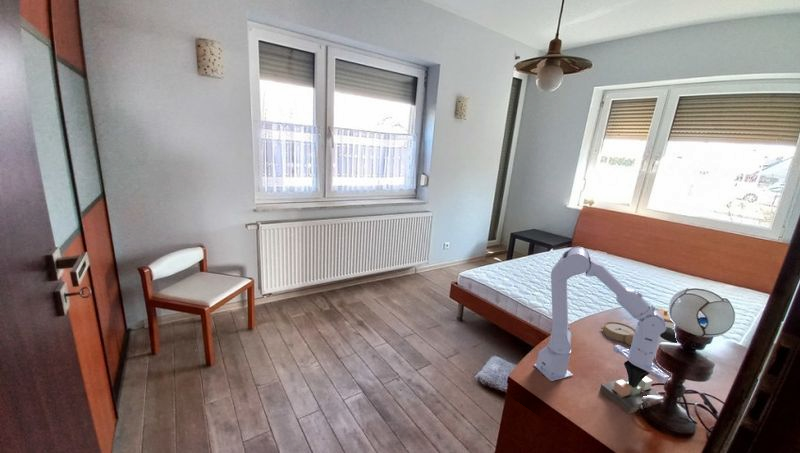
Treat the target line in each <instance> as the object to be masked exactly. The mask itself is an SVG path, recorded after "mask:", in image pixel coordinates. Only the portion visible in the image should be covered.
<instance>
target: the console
mask: <svg viewBox="0 0 800 453" xmlns="http://www.w3.org/2000/svg"><path fill="white" fill-rule="evenodd" d="M618 380H624V381H625V382H628V376H627V377H622V378H619V379H615V380H612V381H608V382H604V383H601V385H600V389H599V392H601V393H602V394H603V395H604V396H605V397H607V398H608V399H609V400H610V401H611V402H613V403H614V404H615V405H616V406H617V407H619V408H620V409H621V410H623V412H625V413H626V414H627V415H629V414H633V413H635V412H638V411H637V410H638V409H639V407H640V406H641V405H642V403H643V401H642V397H643V396H647V395H661V394H660V393H659V392H657V391H656V390H654V389H653V388H652V387H651V388H650V389H647V390H644V391H643V392H642V389H641V390H640V394H637V395H634V396H633V395H632V394H630V395H627V396H624V397H622V396H621V395H619V394H618V393H617V392H616V391H614V390H613V388H614V384H615V381H618Z"/></svg>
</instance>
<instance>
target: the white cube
mask: <svg viewBox="0 0 800 453" xmlns="http://www.w3.org/2000/svg"><path fill="white" fill-rule="evenodd" d="M652 384H653V380H652V378H650V377H648V375H647V376H645V377H644V378H643V379H642V380H641V381H640V383H639V384H638V386H640V387H641V389H642V390H643V391H644V390H647V389H650V388H651V389H652Z"/></svg>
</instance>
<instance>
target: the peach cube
mask: <svg viewBox="0 0 800 453" xmlns="http://www.w3.org/2000/svg"><path fill="white" fill-rule="evenodd" d="M617 380H618V379H617ZM614 381H615V380H614ZM631 388H632V386H631V385H629V384H628V383H626V382H625V381H624V380H618V381H615V384H614V388H613V390H614V391H616V392H617V393H618V394H619V395H621V396H622V397H624V396H627V395H630V392H631Z"/></svg>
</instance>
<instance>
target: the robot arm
mask: <svg viewBox="0 0 800 453" xmlns="http://www.w3.org/2000/svg"><path fill="white" fill-rule="evenodd" d="M584 273H585V276H586V277H587V276H588V277H596V278H597V280H599V281H600V282H601V283H602V284H604V285H605V286H606V287H607V288H608V289H609V290H611V292H612V293H613V294H615V295H616V298H615V301H616V302H617V303H618V304H619V305H620V306H621V307H622V308H623V309H624V310H625V311H626V312H627V313H628V314H629V315H630V316H631V317H632V318H634V319H635V320H637V324H636V328H635V333H634V337H633V340H632V344H631V345H630V348H626V347H624V346H621V345H620V344H616V345H614V348H613V351H614V353H616V354H617V353H618V354H620V355H621V356H623V357H624V358H625V359H626V361H624V363H623V365H624V368H625V369H626V372H627V377H628V382H629V385H631V386H632V387H637V386H638V384H639V383H640V381H641V380H642V379H643V378H644V377H645V376H647V377H648V376H649V375H651V376H653V377H655V378H657V379H658V381H659V382H660V383H661V384H664V383H667V382H668V381H667V380H669V377H670V375H668V374H667V373H666V372H664V371H662V369H660V368H659V367H658V366H657V365H656V364H655V363H654V360H655V358H654V356H655V352H656V349H657V346H658V342H659V339H660V334H662V333H663V332H665V330H666V324H665V321H664V319H663V317H662V315H661V313H660V312H659V311H658V309H657V308H658V307H655V305H653V304H652V305H651V304H650V303H649V302H648V301H647V300H645V298H644V297H643V296H644V295H643V293H641V292H640V291H638V290H637V291H636V290H635V289H634V288H628V287H625V285H623V284H622V283H621V281H619V280H618V279H617V278H616V277H615V276H614V274H613V273H612V272H611V271H610V270H609V269H608V268H607V267H606V266H605V265H603V263H602V262H601V261H600V260H599V259H597V258H596V257H595V256H594V255H593V254H591V253H590V254H589V251H587V249H585V247H581V246H573V247H571V248H569V249H568V250H566V251H564V252H563V254H562V256H561V257H560V259H558V261H557V262H556V264H555V265H554V266H553V267H552V269H551V273H550V288H551V290H550V291H551V311H552V316H551V317H552V326H551V334H550V335H551V336H550V339H549V340H548V341H547V345H546V346H545V347H543V348H542V349H540V350H539V351H538V354H537V359H536V362H535V363H534V364H533V366H534V367H535V368H537V370H539V372H540V373H541V374H542V375H544V376H545V377H546V378H547V379H548V380H549V381H551V382H553V381H557V380H561V379H565V378H570V377H573V375H574V374H573V373H572V372H571V371H569V370H568V367H569V362H570V357H571V354H572V353H571V352H572V338H573V333H572V330H571V329H570V326H569V314H568V313H569V309H568V306H569V305H568V303H569V302H568V280H569V279H570V278H573V277H574V276H578V275H581V274H584ZM666 381H667V382H666Z"/></svg>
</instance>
